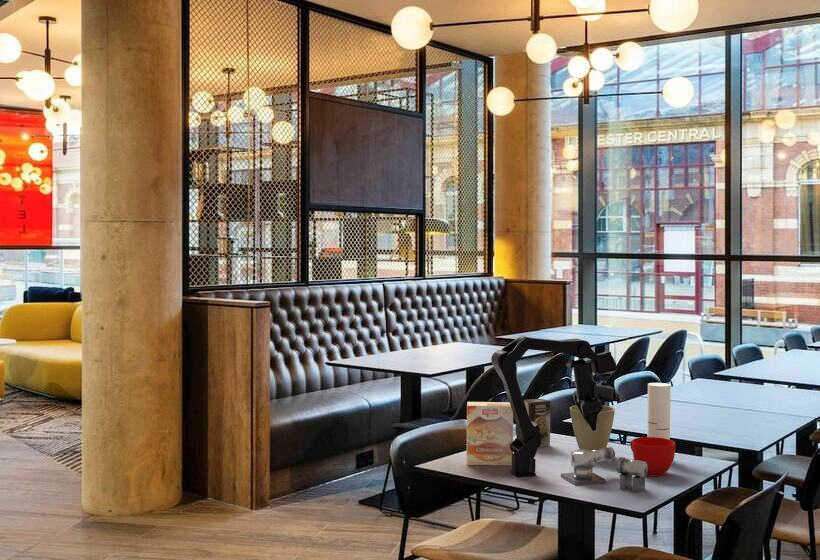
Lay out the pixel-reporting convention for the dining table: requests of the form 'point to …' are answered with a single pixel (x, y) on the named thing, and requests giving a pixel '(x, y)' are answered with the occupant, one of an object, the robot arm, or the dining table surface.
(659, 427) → the cylindrical container
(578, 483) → the flange plate
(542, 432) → the coffee box
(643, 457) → the red bowl
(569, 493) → the dining table surface
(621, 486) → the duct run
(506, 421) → the coffeecake box
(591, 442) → the plant pot
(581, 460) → the elbow
